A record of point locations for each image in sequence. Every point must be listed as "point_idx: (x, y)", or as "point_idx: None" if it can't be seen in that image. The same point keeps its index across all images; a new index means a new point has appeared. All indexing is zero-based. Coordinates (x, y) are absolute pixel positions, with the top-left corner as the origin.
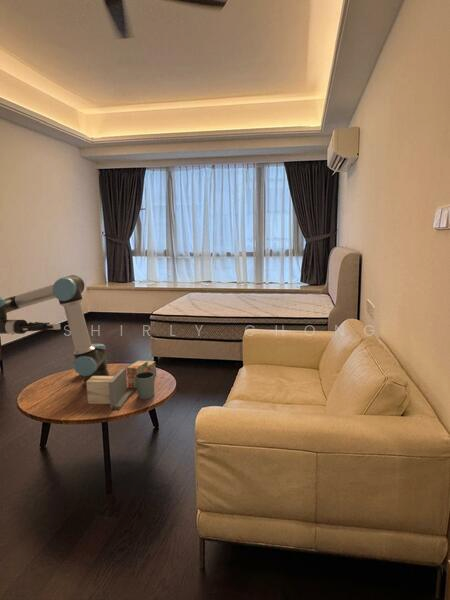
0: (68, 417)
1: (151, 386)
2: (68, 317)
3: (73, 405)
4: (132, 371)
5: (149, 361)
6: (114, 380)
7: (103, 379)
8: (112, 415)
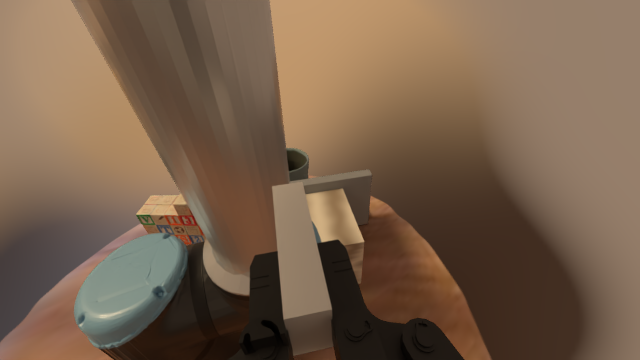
0: (446, 279)
1: (296, 167)
2: (271, 74)
3: (387, 313)
4: None
5: (147, 205)
6: (356, 171)
7: (335, 211)
8: (390, 208)
